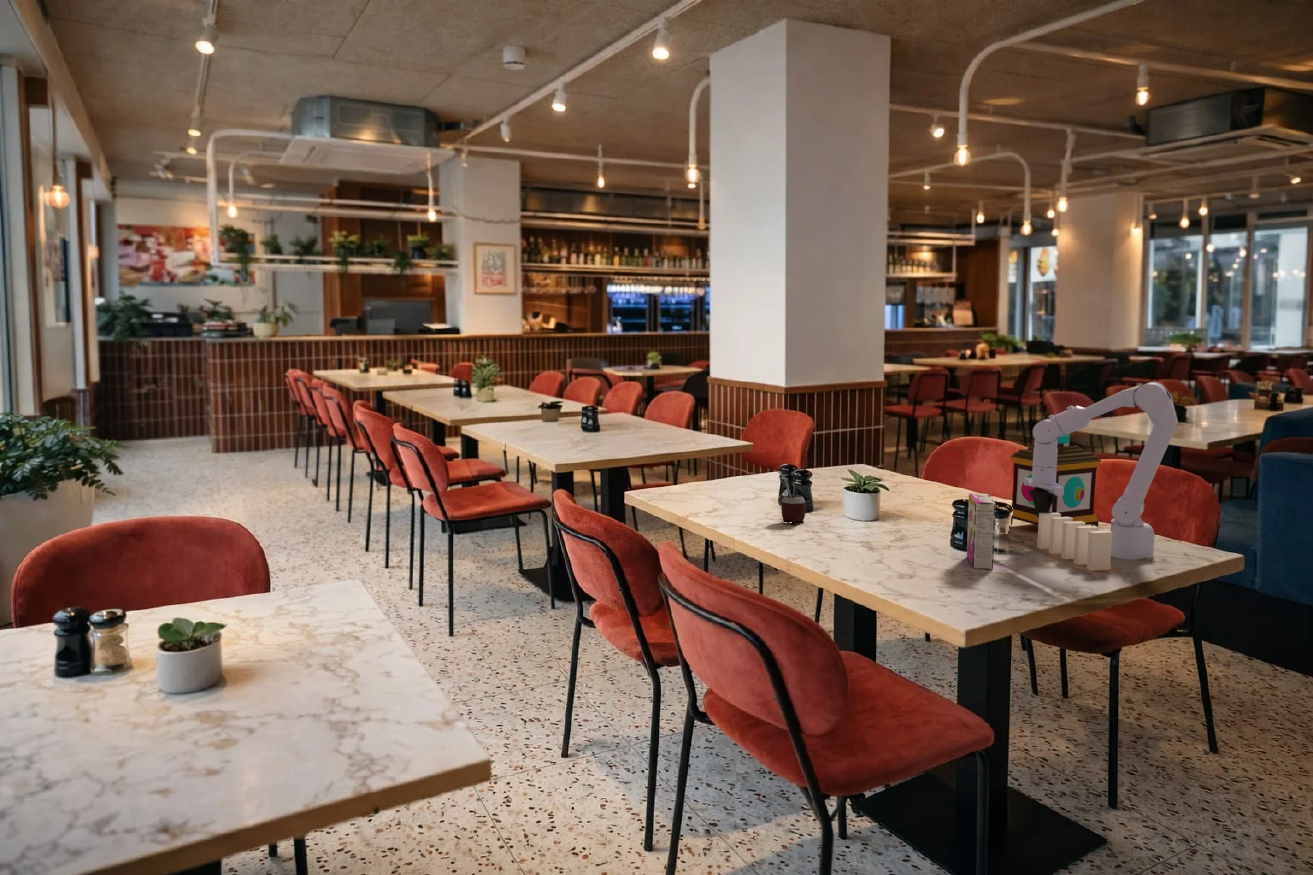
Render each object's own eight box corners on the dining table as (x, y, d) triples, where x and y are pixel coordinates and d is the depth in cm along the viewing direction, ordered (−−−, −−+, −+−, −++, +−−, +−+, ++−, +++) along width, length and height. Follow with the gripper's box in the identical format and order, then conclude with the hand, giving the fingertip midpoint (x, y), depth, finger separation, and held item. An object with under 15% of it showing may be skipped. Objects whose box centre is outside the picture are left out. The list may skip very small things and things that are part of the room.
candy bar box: (965, 556, 223) (968, 492, 220) (986, 557, 222) (989, 493, 219) (971, 569, 212) (974, 501, 210) (993, 570, 211) (997, 502, 209)
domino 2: (1048, 552, 224) (1050, 517, 222) (1066, 551, 224) (1068, 516, 223) (1052, 553, 222) (1054, 518, 221) (1070, 553, 223) (1072, 518, 222)
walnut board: (1056, 547, 232) (1056, 544, 232) (1123, 575, 206) (1124, 571, 206) (1025, 548, 230) (1025, 545, 230) (1088, 576, 205) (1088, 573, 205)
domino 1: (1037, 547, 229) (1039, 513, 227) (1055, 546, 229) (1057, 512, 228) (1040, 548, 227) (1042, 514, 226) (1058, 548, 228) (1060, 513, 226)
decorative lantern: (1053, 541, 238) (1060, 430, 234) (997, 525, 256) (1002, 422, 252) (1106, 533, 246) (1113, 426, 242) (1048, 519, 264) (1054, 419, 260)
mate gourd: (807, 526, 256) (808, 475, 254) (779, 526, 256) (780, 475, 254) (803, 520, 263) (804, 470, 261) (776, 520, 263) (777, 470, 261)
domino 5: (1086, 568, 209) (1088, 531, 208) (1105, 567, 210) (1108, 530, 209) (1090, 570, 207) (1093, 533, 206) (1110, 569, 208) (1112, 532, 207)
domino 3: (1060, 557, 219) (1062, 521, 218) (1079, 556, 220) (1081, 521, 218) (1064, 559, 217) (1066, 523, 216) (1083, 558, 218) (1085, 522, 217)
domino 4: (1073, 562, 214) (1075, 526, 213) (1092, 562, 215) (1094, 525, 213) (1077, 564, 212) (1079, 528, 211) (1096, 563, 213) (1098, 527, 212)
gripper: (1014, 462, 235) (1012, 512, 237) (1046, 471, 221) (1043, 524, 223) (1039, 461, 236) (1036, 511, 238) (1072, 470, 222) (1069, 523, 224)
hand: (1041, 517), depth 231 cm, fingers closed
